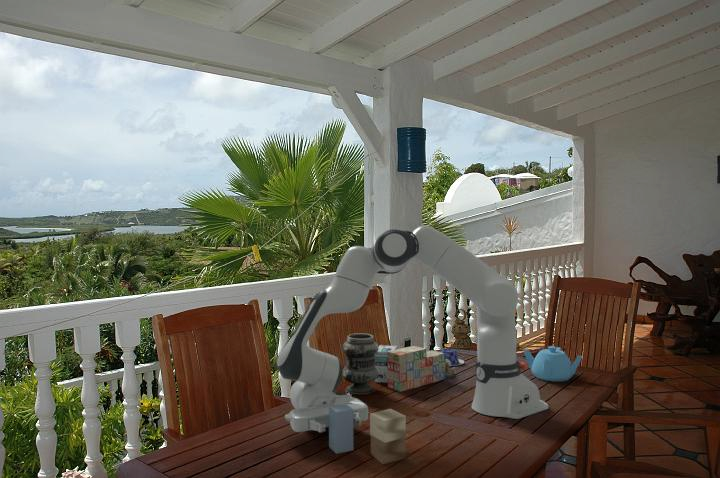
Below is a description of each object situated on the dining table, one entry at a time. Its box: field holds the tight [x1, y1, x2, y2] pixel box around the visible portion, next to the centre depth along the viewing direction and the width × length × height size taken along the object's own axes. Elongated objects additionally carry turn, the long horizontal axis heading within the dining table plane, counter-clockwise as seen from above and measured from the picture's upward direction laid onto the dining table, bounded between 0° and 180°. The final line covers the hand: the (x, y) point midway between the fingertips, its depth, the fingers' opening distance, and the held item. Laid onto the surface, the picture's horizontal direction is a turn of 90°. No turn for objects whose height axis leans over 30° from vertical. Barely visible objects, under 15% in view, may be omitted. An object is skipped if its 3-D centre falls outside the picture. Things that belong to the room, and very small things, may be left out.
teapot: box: [523, 345, 583, 383], centre depth 195 cm, size 15×15×11 cm
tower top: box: [369, 408, 407, 443], centre depth 130 cm, size 6×6×5 cm
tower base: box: [370, 435, 406, 465], centre depth 130 cm, size 6×6×5 cm
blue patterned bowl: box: [440, 348, 465, 367], centre depth 216 cm, size 12×12×5 cm
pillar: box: [328, 404, 354, 454], centre depth 134 cm, size 4×4×10 cm
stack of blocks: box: [387, 345, 446, 393], centre depth 188 cm, size 21×6×12 cm, turn 128°
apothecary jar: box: [341, 332, 379, 396], centre depth 181 cm, size 12×12×18 cm
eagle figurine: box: [445, 359, 456, 380], centre depth 198 cm, size 8×7×9 cm
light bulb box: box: [374, 344, 399, 384], centre depth 194 cm, size 11×7×11 cm, turn 168°
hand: (340, 425), depth 135 cm, fingers open, 8 cm apart
